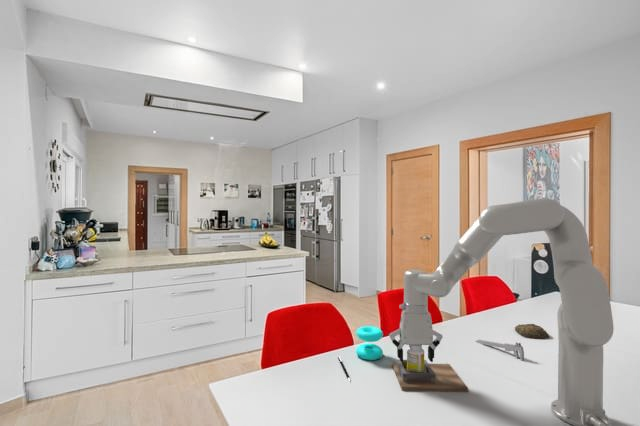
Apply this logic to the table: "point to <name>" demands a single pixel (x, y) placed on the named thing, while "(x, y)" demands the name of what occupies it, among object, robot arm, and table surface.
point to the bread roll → (531, 331)
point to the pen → (344, 368)
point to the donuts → (368, 349)
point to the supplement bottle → (415, 358)
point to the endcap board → (429, 378)
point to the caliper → (506, 347)
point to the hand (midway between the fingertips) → (415, 359)
